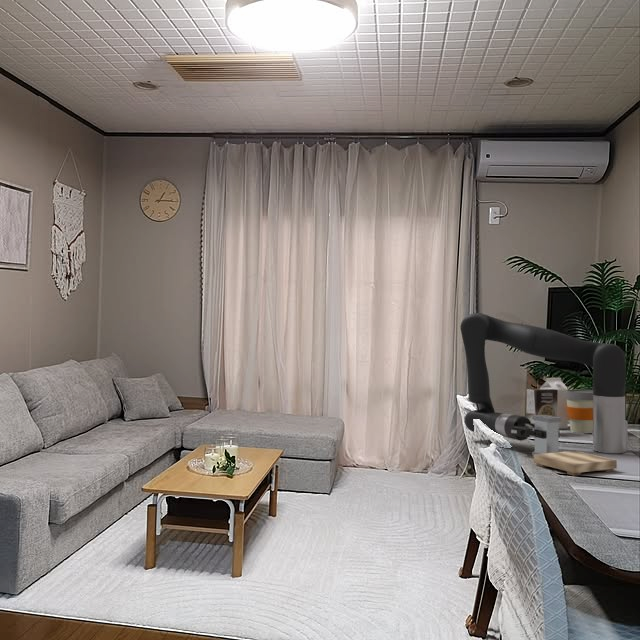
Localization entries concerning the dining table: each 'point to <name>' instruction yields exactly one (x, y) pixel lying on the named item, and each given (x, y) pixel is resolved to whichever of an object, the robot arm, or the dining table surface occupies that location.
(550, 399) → the coffee box
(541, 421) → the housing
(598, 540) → the dining table surface
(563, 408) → the milk carton
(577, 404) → the reusable coffee cup
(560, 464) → the birch stand
